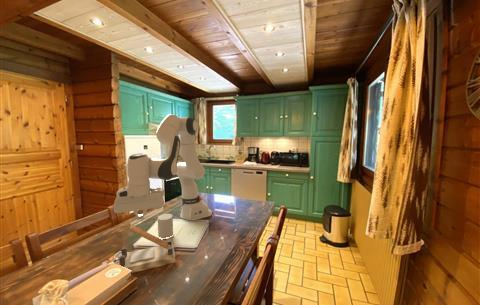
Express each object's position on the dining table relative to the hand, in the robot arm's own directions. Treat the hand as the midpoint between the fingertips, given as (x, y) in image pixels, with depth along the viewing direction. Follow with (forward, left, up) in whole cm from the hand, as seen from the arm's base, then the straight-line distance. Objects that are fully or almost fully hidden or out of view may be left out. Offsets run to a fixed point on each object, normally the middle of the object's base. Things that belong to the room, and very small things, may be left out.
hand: (140, 218), depth 90 cm
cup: (-11, -20, -22) cm, 32 cm away
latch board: (-2, 0, -22) cm, 22 cm away
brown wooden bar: (-4, 0, -11) cm, 12 cm away
